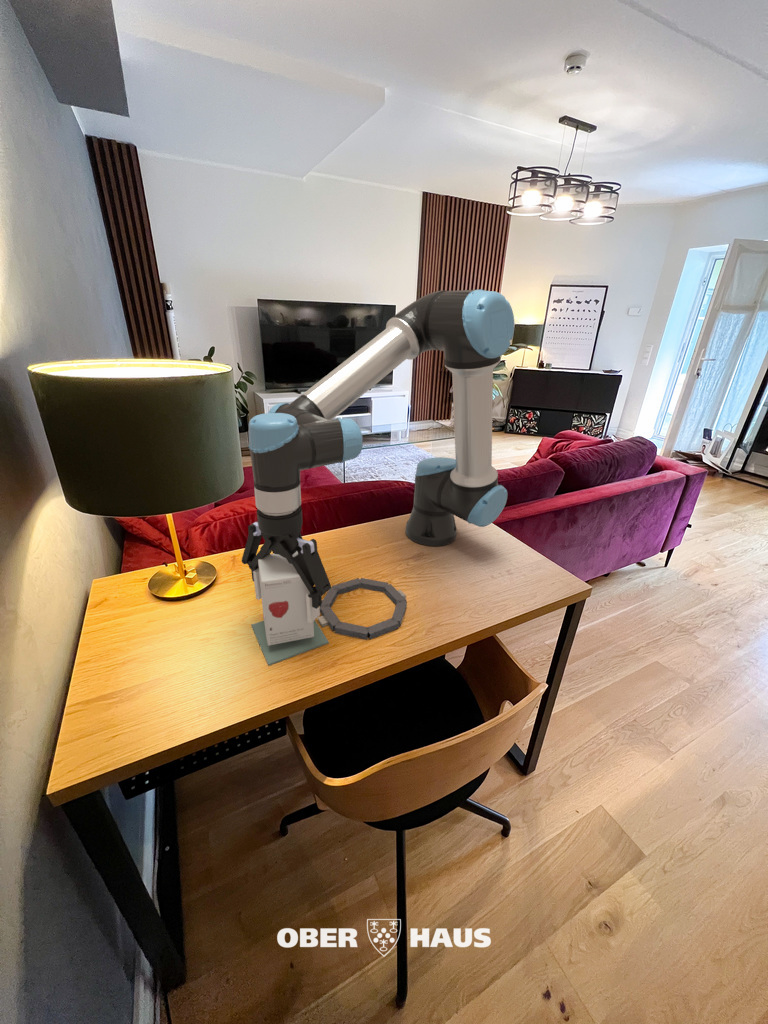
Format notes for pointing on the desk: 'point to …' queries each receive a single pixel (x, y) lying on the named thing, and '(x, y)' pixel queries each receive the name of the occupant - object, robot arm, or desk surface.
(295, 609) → the supplement box
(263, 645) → the felt pad
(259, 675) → the desk surface
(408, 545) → the desk surface
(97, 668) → the desk surface
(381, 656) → the desk surface
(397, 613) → the socket collar
